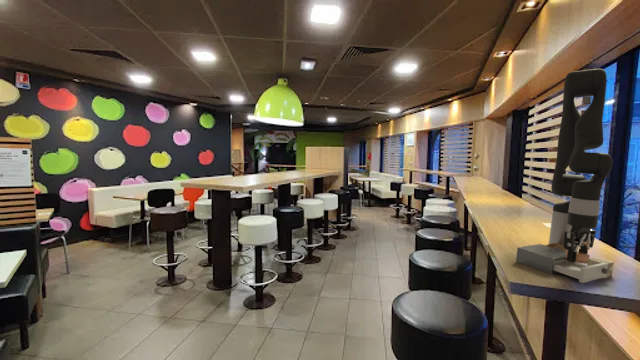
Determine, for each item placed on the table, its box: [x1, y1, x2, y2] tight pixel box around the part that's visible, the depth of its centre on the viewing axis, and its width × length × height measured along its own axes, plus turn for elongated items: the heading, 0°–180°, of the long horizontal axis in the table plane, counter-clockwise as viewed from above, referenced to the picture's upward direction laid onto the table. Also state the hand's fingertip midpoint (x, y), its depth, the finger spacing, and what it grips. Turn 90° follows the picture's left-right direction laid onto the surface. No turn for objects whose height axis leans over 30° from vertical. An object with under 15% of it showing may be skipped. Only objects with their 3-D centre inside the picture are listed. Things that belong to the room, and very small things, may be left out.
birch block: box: [586, 256, 615, 279], centre depth 101 cm, size 5×5×5 cm
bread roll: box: [545, 243, 567, 251], centre depth 116 cm, size 10×10×8 cm
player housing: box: [515, 243, 566, 275], centre depth 108 cm, size 14×12×6 cm
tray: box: [553, 258, 609, 284], centre depth 99 cm, size 14×13×5 cm
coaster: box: [565, 250, 591, 265], centre depth 99 cm, size 6×6×2 cm
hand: (576, 260), depth 99 cm, fingers closed on coaster, 6 cm apart
